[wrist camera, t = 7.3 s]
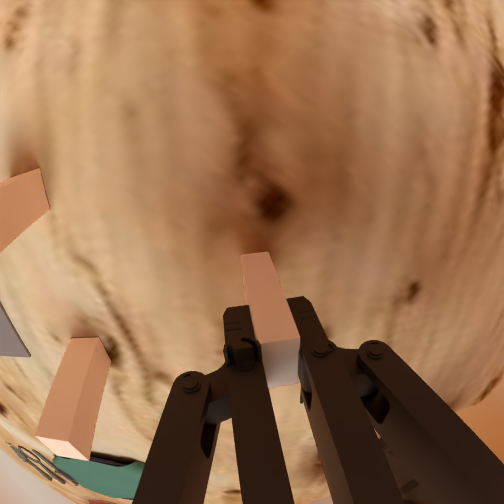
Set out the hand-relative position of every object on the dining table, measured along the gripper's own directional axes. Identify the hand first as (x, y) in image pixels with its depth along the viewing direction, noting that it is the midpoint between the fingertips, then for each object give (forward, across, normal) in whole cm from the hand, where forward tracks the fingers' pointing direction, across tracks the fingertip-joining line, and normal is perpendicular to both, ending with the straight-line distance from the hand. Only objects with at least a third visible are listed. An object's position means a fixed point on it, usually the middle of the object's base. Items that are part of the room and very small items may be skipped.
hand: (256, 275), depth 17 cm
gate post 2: (+2, +13, +6) cm, 15 cm away
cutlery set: (+3, +29, +36) cm, 46 cm away
